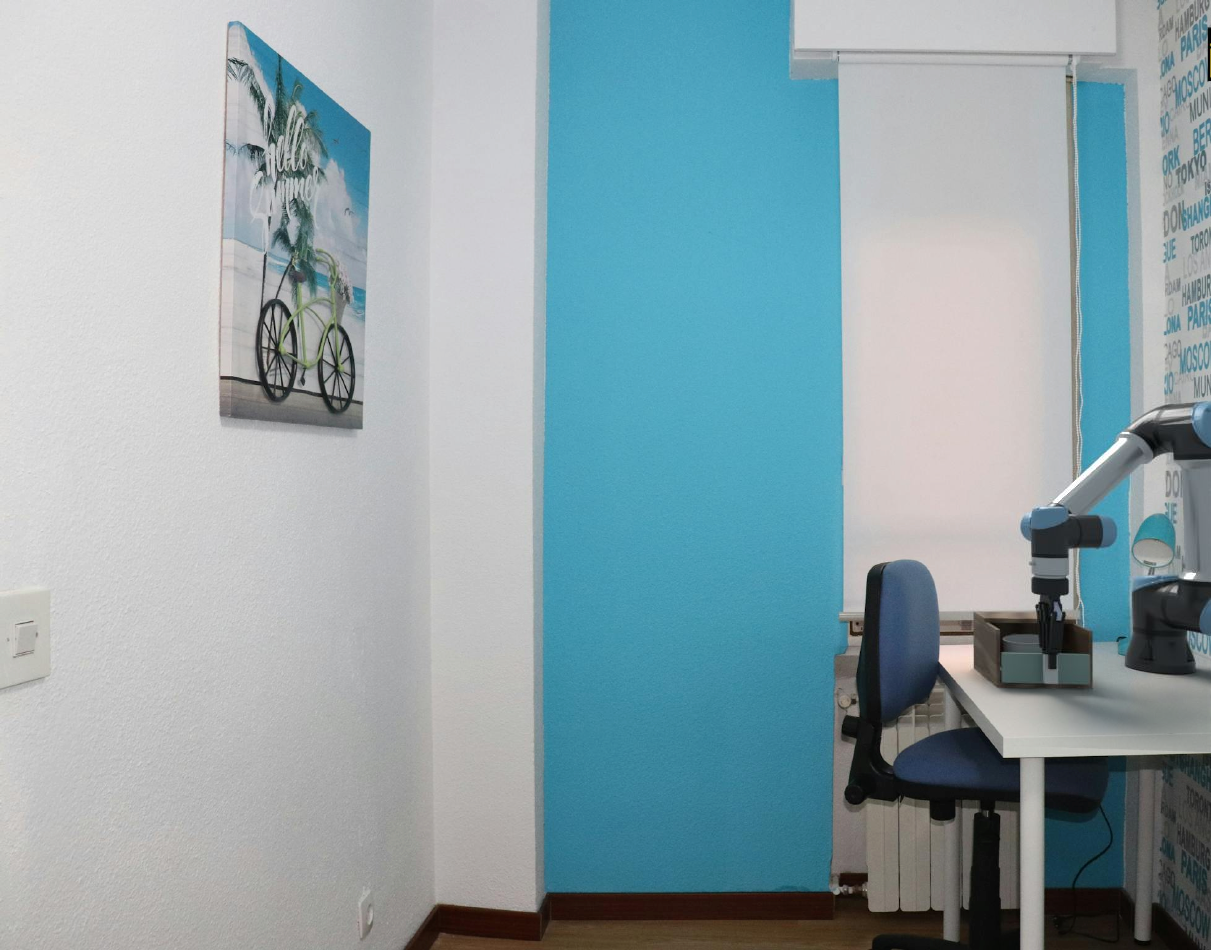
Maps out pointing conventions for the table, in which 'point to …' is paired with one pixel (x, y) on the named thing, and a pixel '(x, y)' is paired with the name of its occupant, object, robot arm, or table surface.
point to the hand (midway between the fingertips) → (1050, 683)
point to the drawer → (1031, 668)
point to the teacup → (1021, 643)
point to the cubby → (1006, 623)
